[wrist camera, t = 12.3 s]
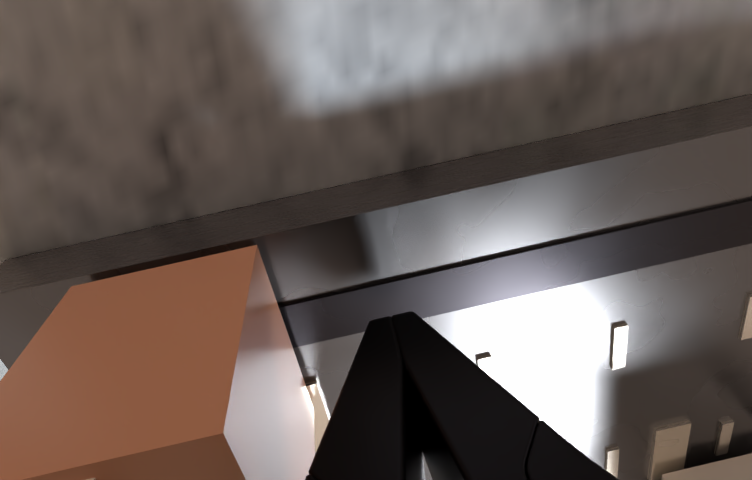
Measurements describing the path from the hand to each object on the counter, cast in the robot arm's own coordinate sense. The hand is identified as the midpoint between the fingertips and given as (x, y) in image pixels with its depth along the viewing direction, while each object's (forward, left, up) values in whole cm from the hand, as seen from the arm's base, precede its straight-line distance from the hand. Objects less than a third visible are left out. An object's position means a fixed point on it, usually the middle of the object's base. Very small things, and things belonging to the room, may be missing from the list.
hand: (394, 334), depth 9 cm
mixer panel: (-2, +5, -3) cm, 6 cm away
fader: (+4, 0, -1) cm, 4 cm away
